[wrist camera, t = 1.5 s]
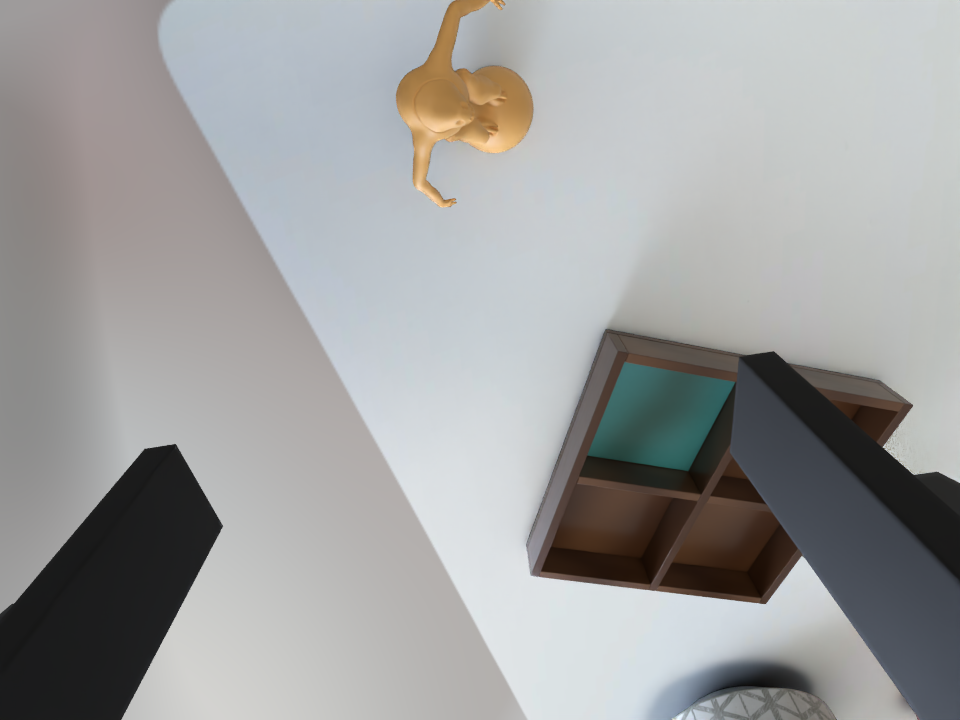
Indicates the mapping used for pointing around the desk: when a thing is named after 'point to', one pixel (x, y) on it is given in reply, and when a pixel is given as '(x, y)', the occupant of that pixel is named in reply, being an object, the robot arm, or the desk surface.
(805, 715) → the planter
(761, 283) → the desk surface
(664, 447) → the divided tray
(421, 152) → the figurine
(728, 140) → the desk surface
